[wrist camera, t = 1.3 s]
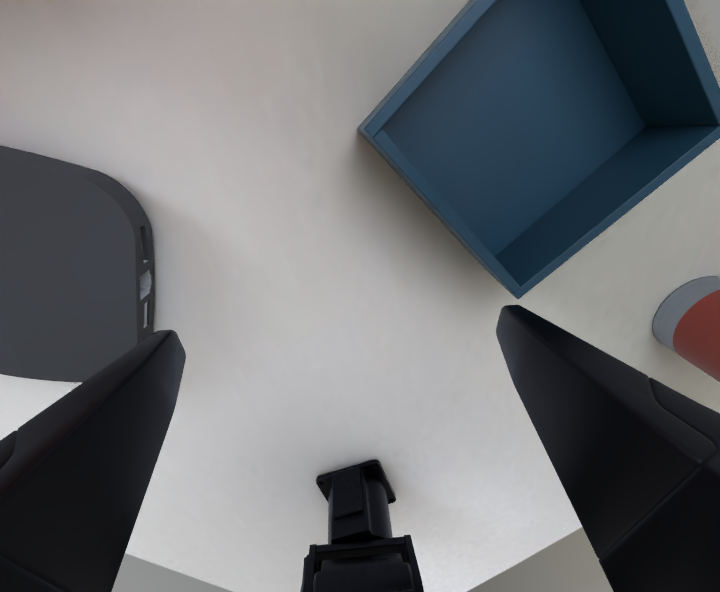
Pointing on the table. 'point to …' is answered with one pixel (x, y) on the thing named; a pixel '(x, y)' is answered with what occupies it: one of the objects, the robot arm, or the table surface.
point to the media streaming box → (69, 269)
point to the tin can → (693, 324)
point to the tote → (547, 123)
